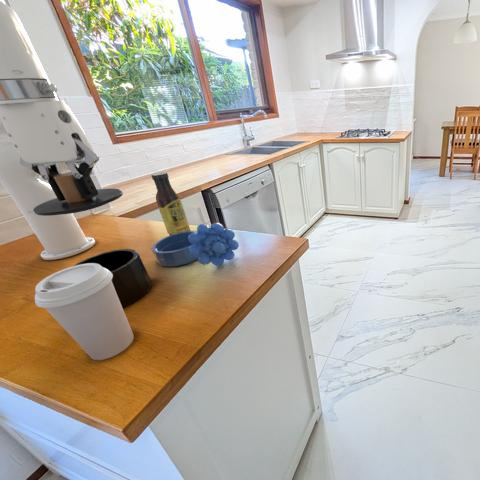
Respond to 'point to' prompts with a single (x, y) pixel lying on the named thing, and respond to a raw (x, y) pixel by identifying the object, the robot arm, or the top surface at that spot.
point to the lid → (74, 198)
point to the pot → (124, 274)
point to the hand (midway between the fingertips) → (79, 196)
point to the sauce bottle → (170, 205)
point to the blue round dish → (174, 250)
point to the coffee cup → (87, 309)
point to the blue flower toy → (212, 244)
